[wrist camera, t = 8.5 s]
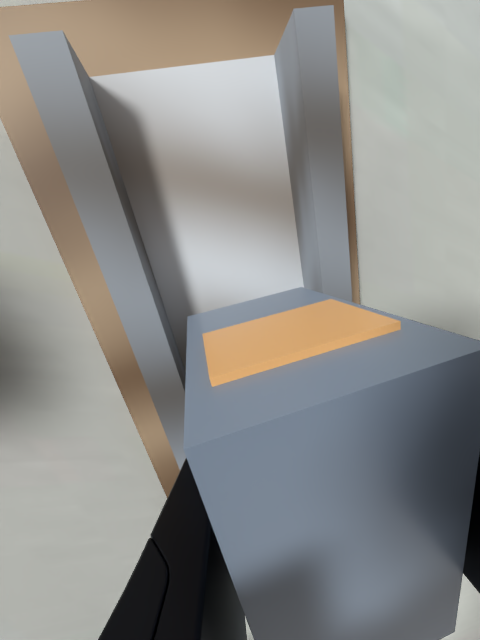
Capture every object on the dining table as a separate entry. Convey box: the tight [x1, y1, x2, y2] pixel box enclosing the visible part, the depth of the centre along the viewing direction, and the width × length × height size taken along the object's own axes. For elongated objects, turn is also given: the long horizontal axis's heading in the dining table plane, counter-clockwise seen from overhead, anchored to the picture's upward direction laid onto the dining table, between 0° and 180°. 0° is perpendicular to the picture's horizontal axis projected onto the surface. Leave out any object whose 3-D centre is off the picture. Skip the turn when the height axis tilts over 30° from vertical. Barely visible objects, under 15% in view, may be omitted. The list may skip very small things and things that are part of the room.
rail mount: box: [0, 0, 360, 498], centre depth 11 cm, size 26×12×3 cm, turn 12°
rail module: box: [183, 287, 480, 640], centre depth 6 cm, size 7×4×6 cm, turn 12°
